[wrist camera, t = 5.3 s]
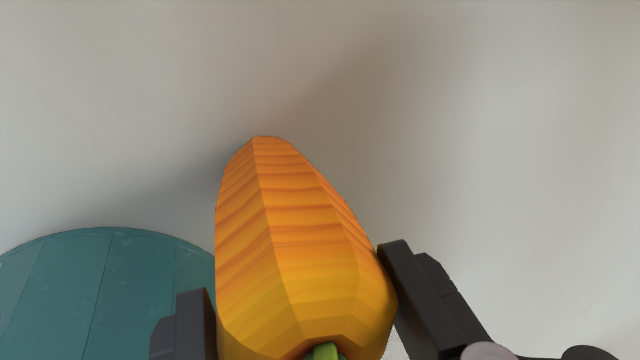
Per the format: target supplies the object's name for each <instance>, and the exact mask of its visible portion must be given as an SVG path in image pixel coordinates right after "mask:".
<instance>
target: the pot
mask: <svg viewBox="0 0 640 360" xmlns="http://www.w3.org/2000/svg"><path fill="white" fill-rule="evenodd" d="M201 287H206V289H207V291H208V294H209V297H210V300H211V303H212V305H213V308H214V311H215V314H216V289H215V257H213V256H212V255H210V254H209V253H207V252H205V251H204V250H202V249H201V248H199V247H197V246H194V245H192V244H190V243H188V242H186V241H184V240H181V239H178V238H175V237H172V236H169V235H165V234H161V233H157V232H152V231H148V230H140V229H132V228H116V227H100V228H85V229H77V230H71V231H65V232H60V233H56V234H52V235H49V236H45V237H41V238H38V239H36V240H33V241H31V242H28V243H25V244H23V245H20V246H19V247H17V248H15V249H13V250H11V251H9V252H7V253H5V254H3V255H2V256H1V257H0V360H148V359H149V346H150V337H151V335H152V333H153V331H154V329H155V327H156V325H157V323H158V321H159V319H160V318H162V317H166V316H170V315H174V314H175V313H176V296H177V293H180V292H184V291H188V290H193V289H197V288H201Z"/></svg>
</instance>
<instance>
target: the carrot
mask: <svg viewBox="0 0 640 360" xmlns="http://www.w3.org/2000/svg"><path fill="white" fill-rule="evenodd" d="M215 289H216V330H217V351H218V358H219V360H380V359H381V357H382V355H383V354H384V352H385V349H386V346H387V342H388V339H389V336H390V332H391V329H392V326H393V322H394V319H395V316H396V313H397V309H398V306H399V305H398V298H397V292H396V290H395V287H394V285H393V283H392V281H391V279H390V277H389V275H388V273H387V271H386V270H385V268H384V266H383V264H382V262H381V260H380V258H379V257H378V255H377V253H376V251H375V249H374V247H373V246H372V244H371V242H370V240H369V239H368V237H367V235H366V234H365V232H364V230H363V229H362V227H361V225H360V224H359V222H358V221H357V219H356V217H355V216H354V214H353V213H352V211H351V209H350V208H349V206H348V205H347V203H346V202H345V200H344V199H343V198H342V197H341V196H340V195H339V193H338V192H337V191H336V190H335V189H334V188H333V186H332V185H331V184H330V183H329V182H328V181H327V180H326V179H325V178H324V177H323V176H322V175H321V174H320V173H319V172H318V171H317V170H316V168H315V167H314V166H313V165H312V164H311V163H310V162H309V161H308V160H306V159H305V158H304V157H303V156H302V155H301V154H300V153H299V152H298V151H297V150H296V149H295V148H294V147H293V146H292V145H291V144H290V143H289V142H287V141H285V140H282V139H280V138H278V137H270V136H255V137H253V138H252V139H251V140H250V141H248V142H247V143H246V144H245V145H244V146H243V147H242V148H240V149H239V150H238V151H237V152H236V153H235V154H234V156H233V157H232V158H231V160H230V161H229V163H228V164H227V165H226V168H225V171H224V175H223V178H222V181H221V185H220V189H219V194H218V199H217V204H216V208H215Z"/></svg>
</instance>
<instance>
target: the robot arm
mask: <svg viewBox="0 0 640 360" xmlns="http://www.w3.org/2000/svg"><path fill="white" fill-rule="evenodd" d="M377 255H378V257H379V258H380V260H381V262H382V264H383V266H384V268H385V270H386V271H387V273H388V275H389V277H390V279H391V281H392V283H393V285H394V287H395V290H396V292H397V298H398V305H399V306H398V309H397V313H396V316H395V319H394V322H393V324H394V326H395V328H396V331H397V333H398V335H399V337H400V339H401V341H402V343H403V345H404V348H405V350H406V352H407V354H408V356H409V358H410V360H618V359H617V358H615V357H614V356H613V355H611V354H610V353H608V352H606V351H604V350H602V349H599V348H596V347H593V346H588V345H577V346H573V347H570V348H568V349H567V350H566V351H565V352H564V353H563V355H562V357H561V359H553V358H530V357H523V356H518V355H515V354H513V353H512V352H511V351H510V350H508V349H507V348H505V347H503V346H502V345H499V344H497V343H495V342H494V341H493V340H492V339H491V338H490V336H489V335H488V334H487V332H486V331H485V329H484V328H483V326H482V325H481V323H480V322H479V320H478V319H477V317H476V316H475V314H474V313H473V311H472V310H471V308H470V307H469V306H468V304H467V303H466V301H465V300H464V298H463V297H462V295H461V294H460V292H458V290H457V288H456V286H455V285H454V283H453V282H452V280H450V278H449V276H448V274H447V273H446V271H445V270H444V269H443V267H442V266H441V264H440V263H439V262H438V261H436V260H435V259H433V258H432V257H431V256H429V255H428V254H426V253H425V252H424V253H420V254H416V255H414V254H413V253H412V251H411V250H410V248H409V246H408V245H407V243H406V242H405V241H404V240H403V239H400V240H396V241H392V242H388V243H384V244H380V245H378V246H377ZM148 360H219V358H218V351H217V330H216V314H215V311H214V308H213V305H212V303H211V300H210V297H209V294H208V291H207V289H206V287H201V288H197V289H193V290H188V291H184V292H180V293H177V296H176V313H175V314H174V315H170V316H166V317H162V318H160V319H159V321H158V323H157V325H156V327H155V329H154V331H153V333H152V335H151V337H150V346H149V359H148Z"/></svg>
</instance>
